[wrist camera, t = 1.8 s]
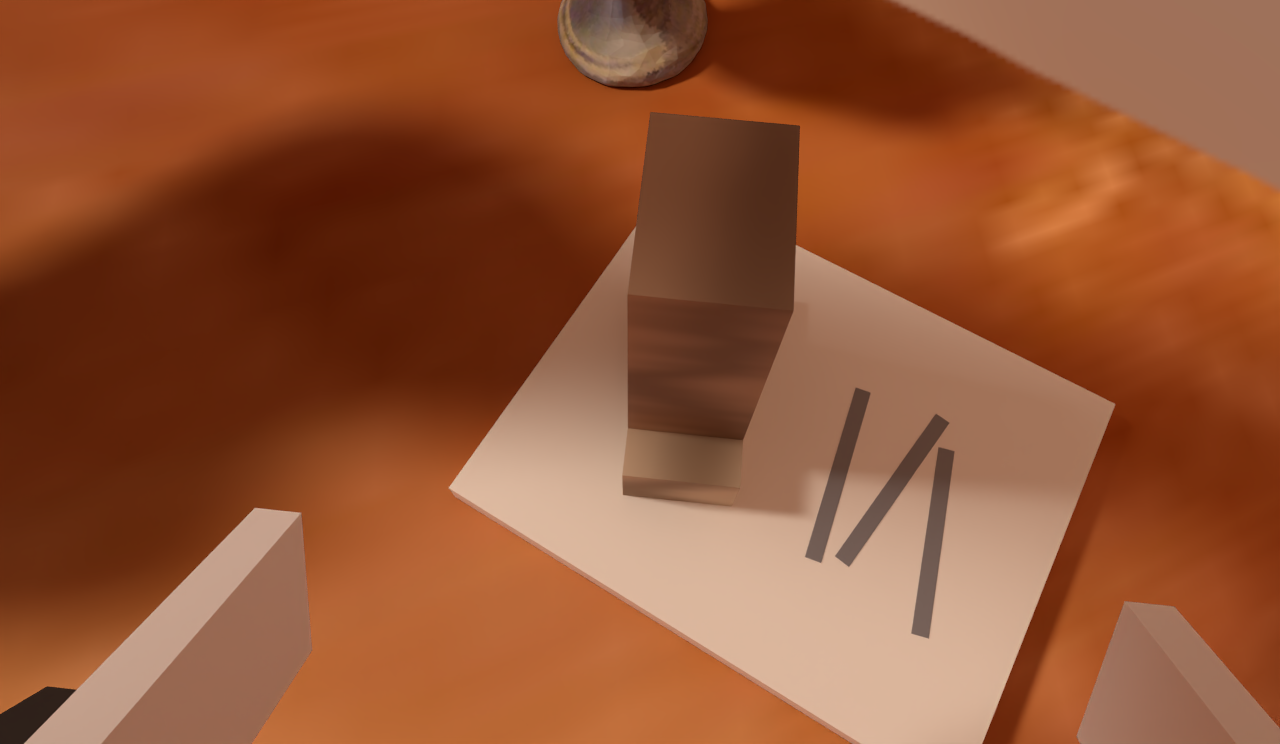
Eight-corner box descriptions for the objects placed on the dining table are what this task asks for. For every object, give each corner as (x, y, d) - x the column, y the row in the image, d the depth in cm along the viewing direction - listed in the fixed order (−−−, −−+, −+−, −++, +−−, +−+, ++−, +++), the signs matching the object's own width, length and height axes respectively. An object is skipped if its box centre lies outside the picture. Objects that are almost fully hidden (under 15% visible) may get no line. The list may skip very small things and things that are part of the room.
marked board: (454, 496, 31) (448, 487, 30) (667, 197, 37) (668, 181, 36) (945, 801, 27) (958, 804, 26) (1099, 415, 33) (1115, 403, 32)
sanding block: (622, 495, 30) (619, 358, 19) (647, 281, 34) (656, 63, 23) (731, 506, 30) (791, 375, 19) (744, 291, 34) (801, 76, 23)
